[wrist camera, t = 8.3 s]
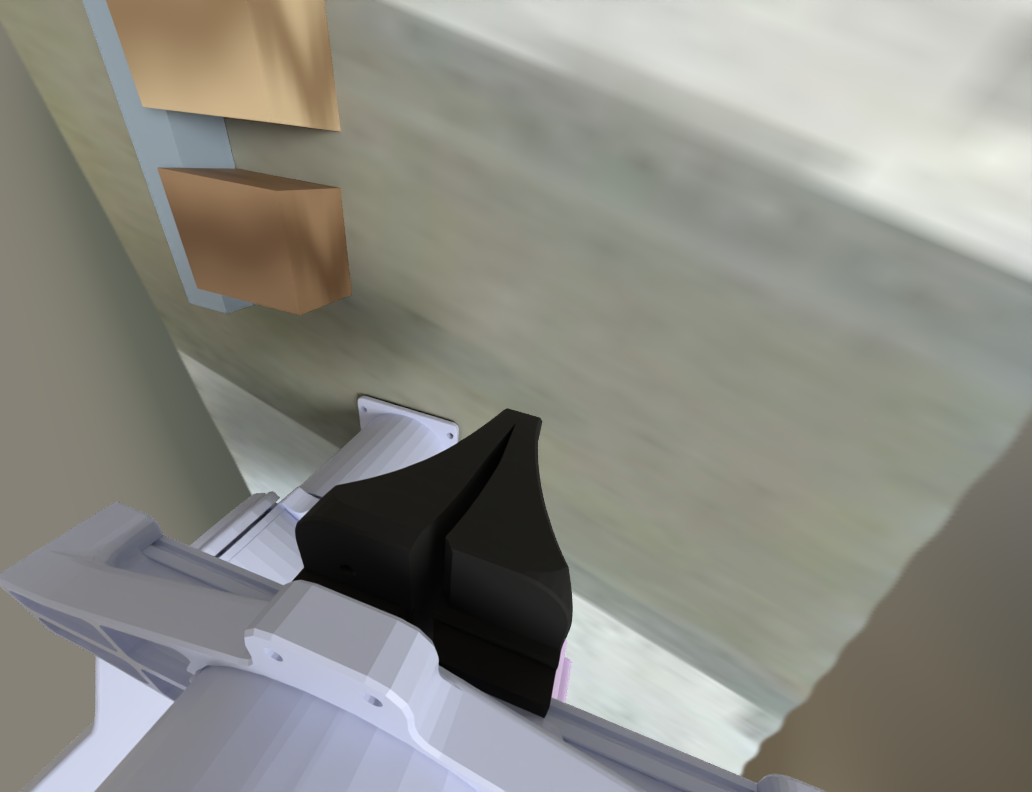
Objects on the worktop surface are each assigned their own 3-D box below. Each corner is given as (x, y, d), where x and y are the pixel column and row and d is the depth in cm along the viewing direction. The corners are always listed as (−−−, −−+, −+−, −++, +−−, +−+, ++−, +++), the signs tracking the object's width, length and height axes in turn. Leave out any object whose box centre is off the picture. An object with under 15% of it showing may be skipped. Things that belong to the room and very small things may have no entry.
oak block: (342, 131, 19) (271, 122, 16) (232, 118, 21) (142, 106, 17) (322, -38, 16) (226, -101, 12) (193, -42, 17) (71, -99, 14)
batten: (266, 300, 26) (227, 313, 24) (231, 291, 27) (189, 303, 24) (172, -98, 16) (88, -145, 14) (120, -100, 17) (30, -146, 14)
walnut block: (353, 293, 24) (300, 315, 20) (263, 271, 25) (197, 288, 22) (342, 188, 21) (276, 190, 17) (239, 168, 22) (157, 167, 18)
